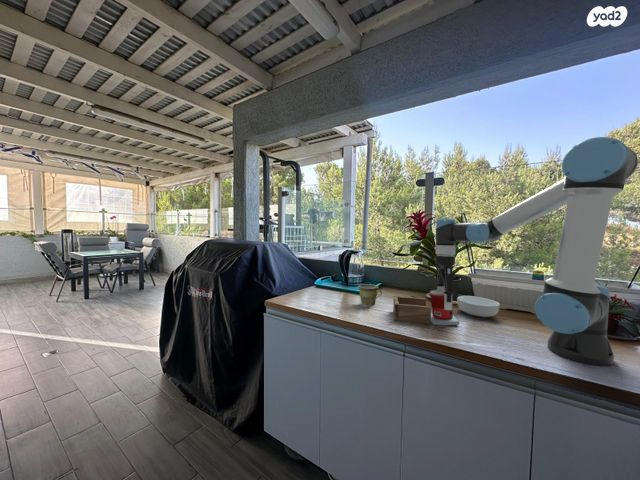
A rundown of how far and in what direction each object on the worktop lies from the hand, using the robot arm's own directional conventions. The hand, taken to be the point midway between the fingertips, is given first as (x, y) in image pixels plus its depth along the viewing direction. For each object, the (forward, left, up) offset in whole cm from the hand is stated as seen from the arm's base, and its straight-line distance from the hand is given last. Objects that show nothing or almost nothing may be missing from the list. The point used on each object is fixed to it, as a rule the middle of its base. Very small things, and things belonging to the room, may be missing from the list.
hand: (444, 305), depth 110 cm
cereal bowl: (+15, -18, -8) cm, 24 cm away
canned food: (0, 0, -5) cm, 5 cm away
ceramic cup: (+15, +31, -8) cm, 35 cm away
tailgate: (0, 0, -7) cm, 7 cm away
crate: (0, +13, -7) cm, 15 cm away
